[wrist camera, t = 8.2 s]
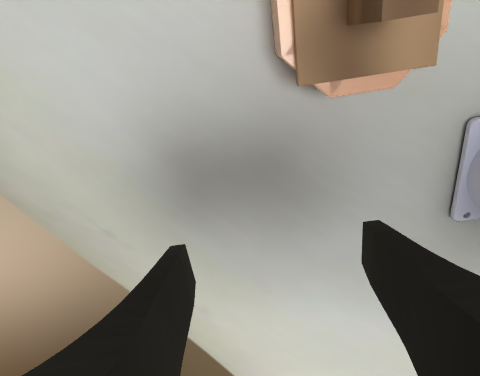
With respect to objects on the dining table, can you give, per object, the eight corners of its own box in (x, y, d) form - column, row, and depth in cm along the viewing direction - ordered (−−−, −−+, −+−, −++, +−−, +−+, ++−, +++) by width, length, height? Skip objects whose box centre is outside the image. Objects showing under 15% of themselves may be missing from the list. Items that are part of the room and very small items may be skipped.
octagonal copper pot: (428, -99, 15) (468, -128, 13) (412, 74, 19) (440, 80, 16) (264, -68, 16) (269, -89, 13) (279, 95, 20) (285, 104, 17)
